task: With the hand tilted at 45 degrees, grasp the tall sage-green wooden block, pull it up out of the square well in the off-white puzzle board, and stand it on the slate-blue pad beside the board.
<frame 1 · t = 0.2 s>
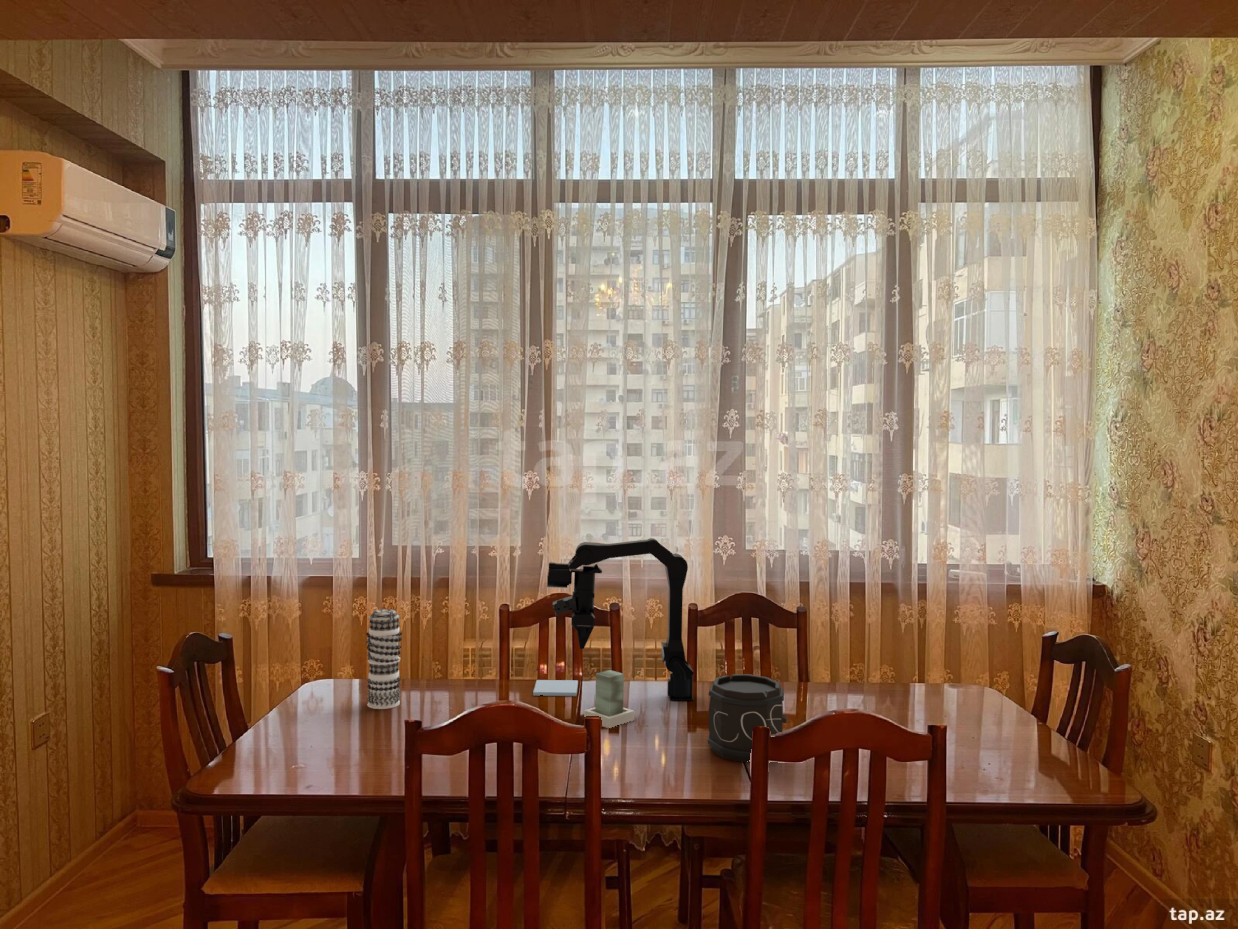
hand: (581, 644, 239), 15 cm above the table, tool pointing down, fingers open, 9 cm apart
dark grey coffee canister: (747, 751, 202), on the table
decorative candle: (383, 704, 231), on the table
green block: (609, 697, 221), in the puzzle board
slate pad: (556, 689, 247), on the table
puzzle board: (609, 720, 221), on the table
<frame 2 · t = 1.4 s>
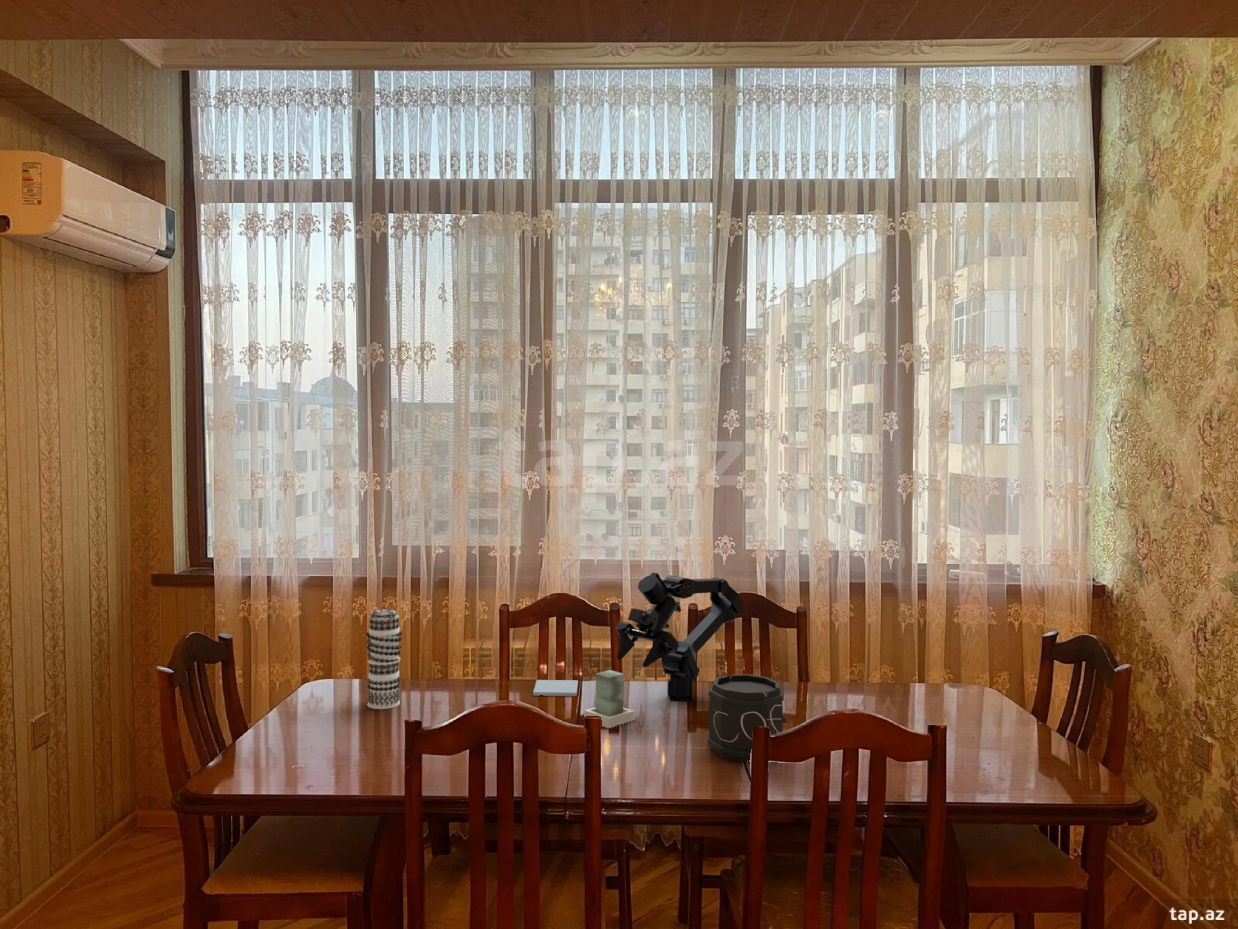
hand: (630, 663, 226), 13 cm above the table, tool tilted 45°, fingers open, 9 cm apart
nothing on the table moved.
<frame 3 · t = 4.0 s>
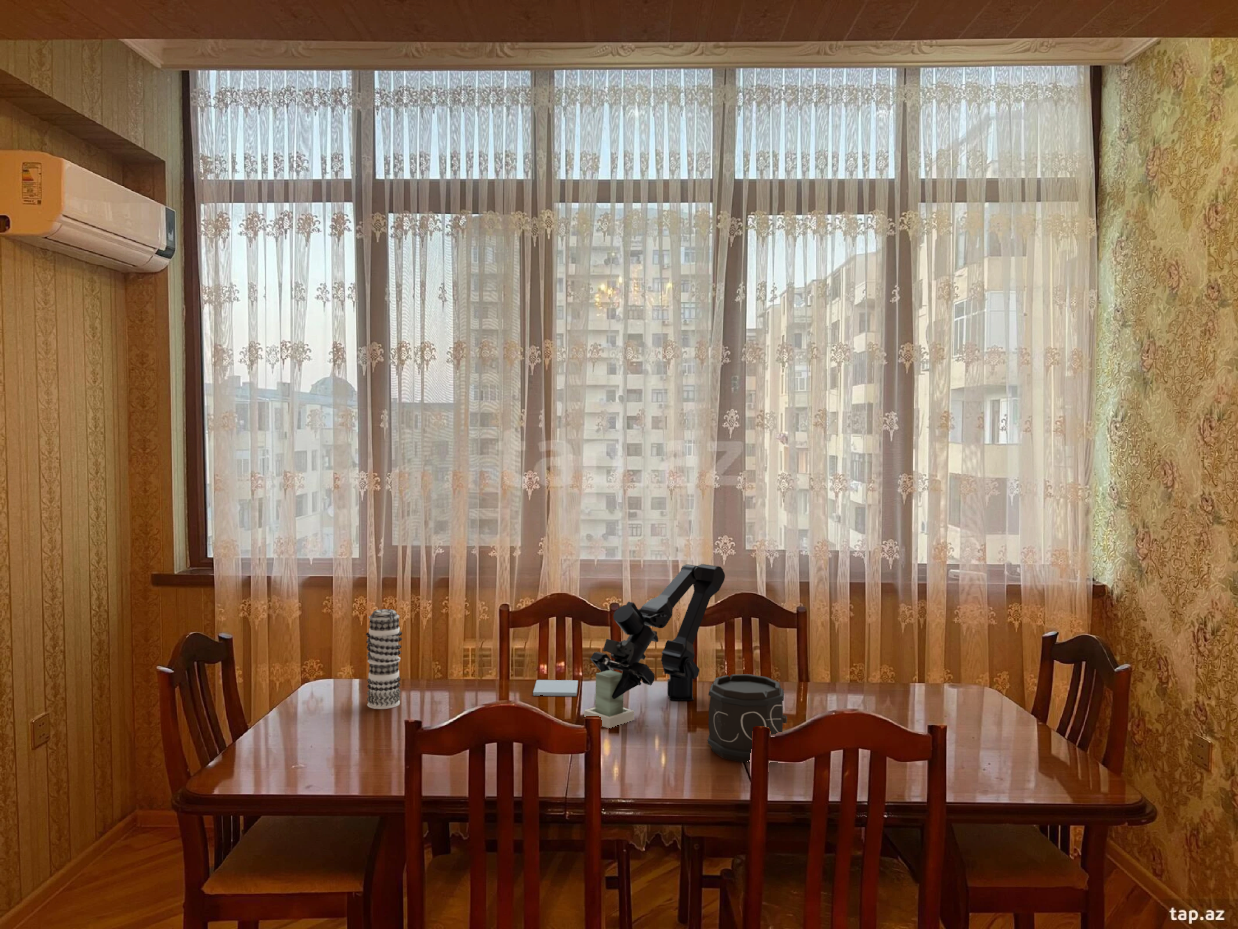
hand: (605, 695, 220), 7 cm above the table, tool tilted 45°, fingers closed on green block, 5 cm apart
green block: (609, 697, 221), in the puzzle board, touching gripper
everything else where it was.
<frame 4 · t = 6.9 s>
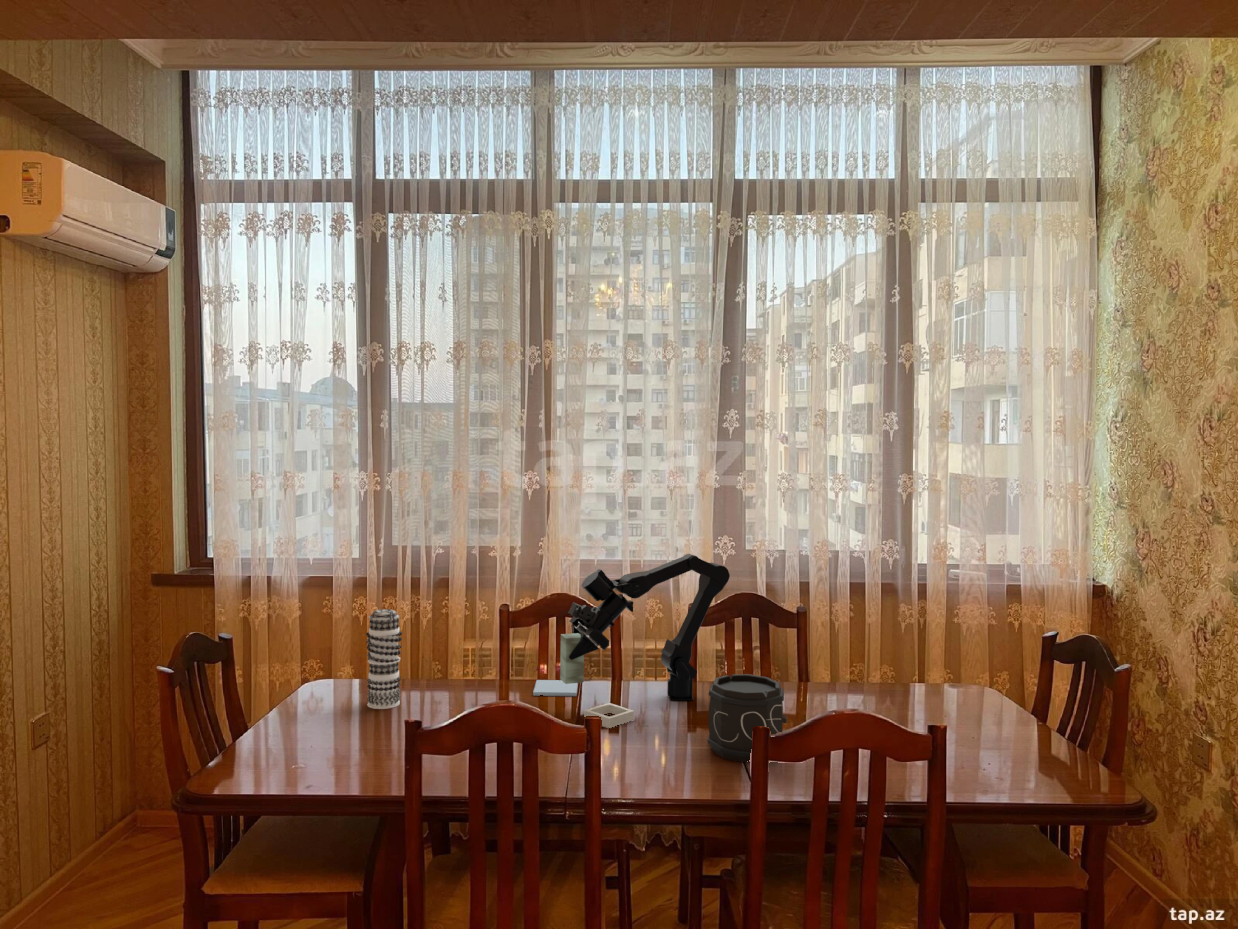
hand: (567, 656, 230), 14 cm above the table, tool tilted 45°, fingers closed on green block, 5 cm apart
green block: (572, 658, 230), point 13 cm above the table, touching gripper
everything else where it was.
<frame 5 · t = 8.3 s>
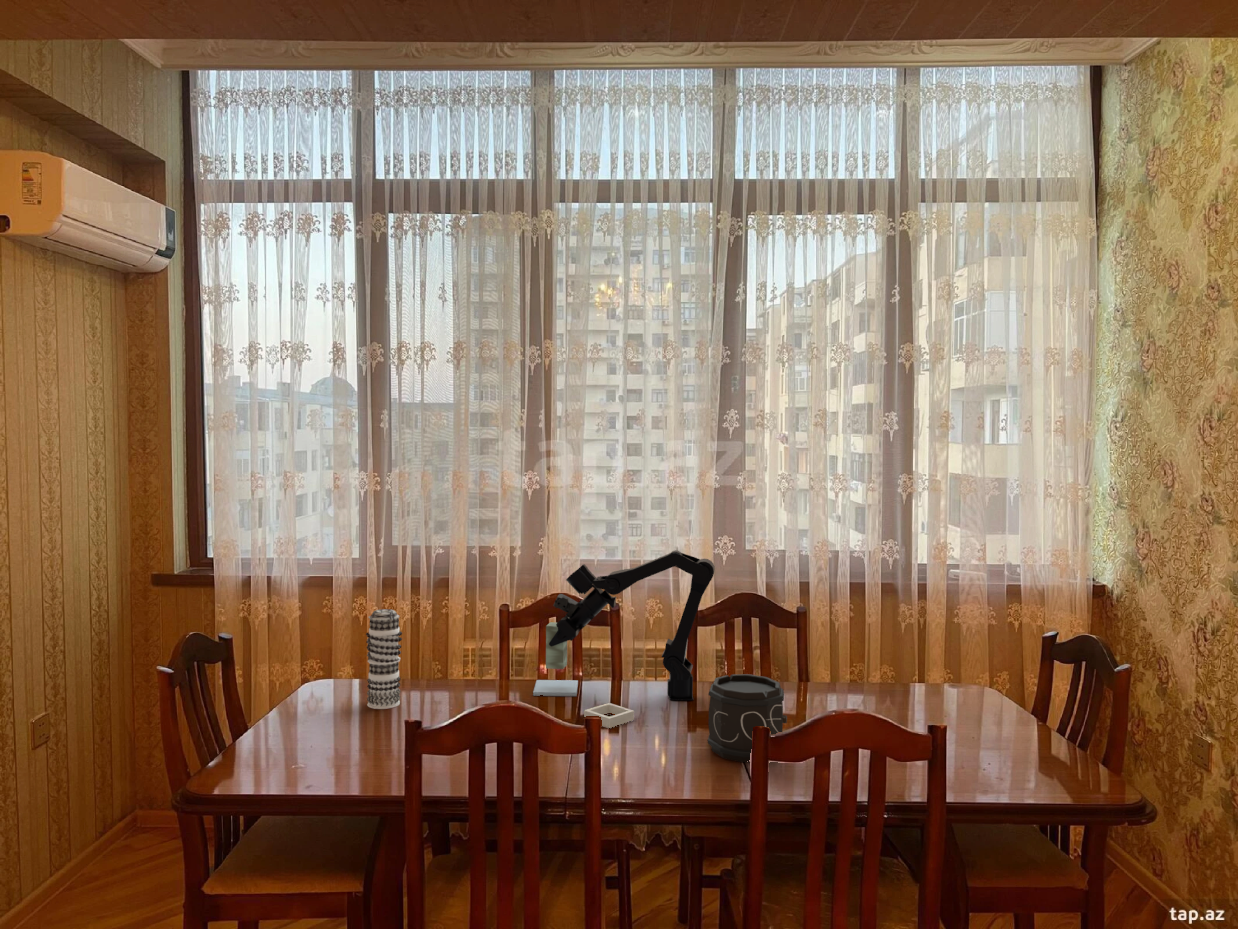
hand: (552, 643, 247), 13 cm above the table, tool tilted 45°, fingers closed on green block, 5 cm apart
green block: (556, 645, 246), point 13 cm above the table, touching gripper
everything else where it was.
when the fingers open (9 cm above the table, at t = 9.6 s): green block drops 1 cm, resting on slate pad.
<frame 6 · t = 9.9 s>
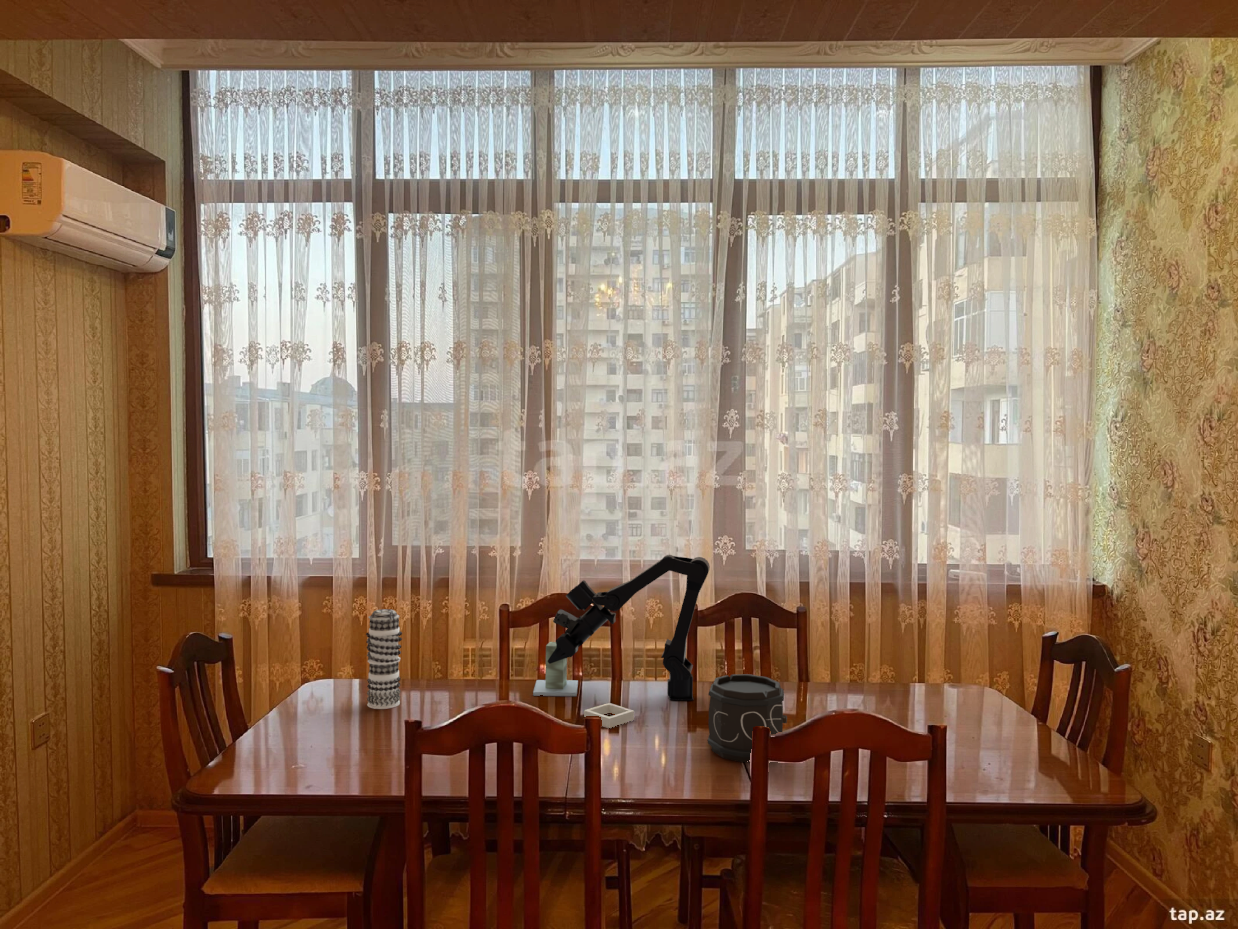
hand: (551, 658, 247), 9 cm above the table, tool tilted 45°, fingers open, 8 cm apart
green block: (556, 665, 247), on the slate pad, point 7 cm above the table
everything else where it was.
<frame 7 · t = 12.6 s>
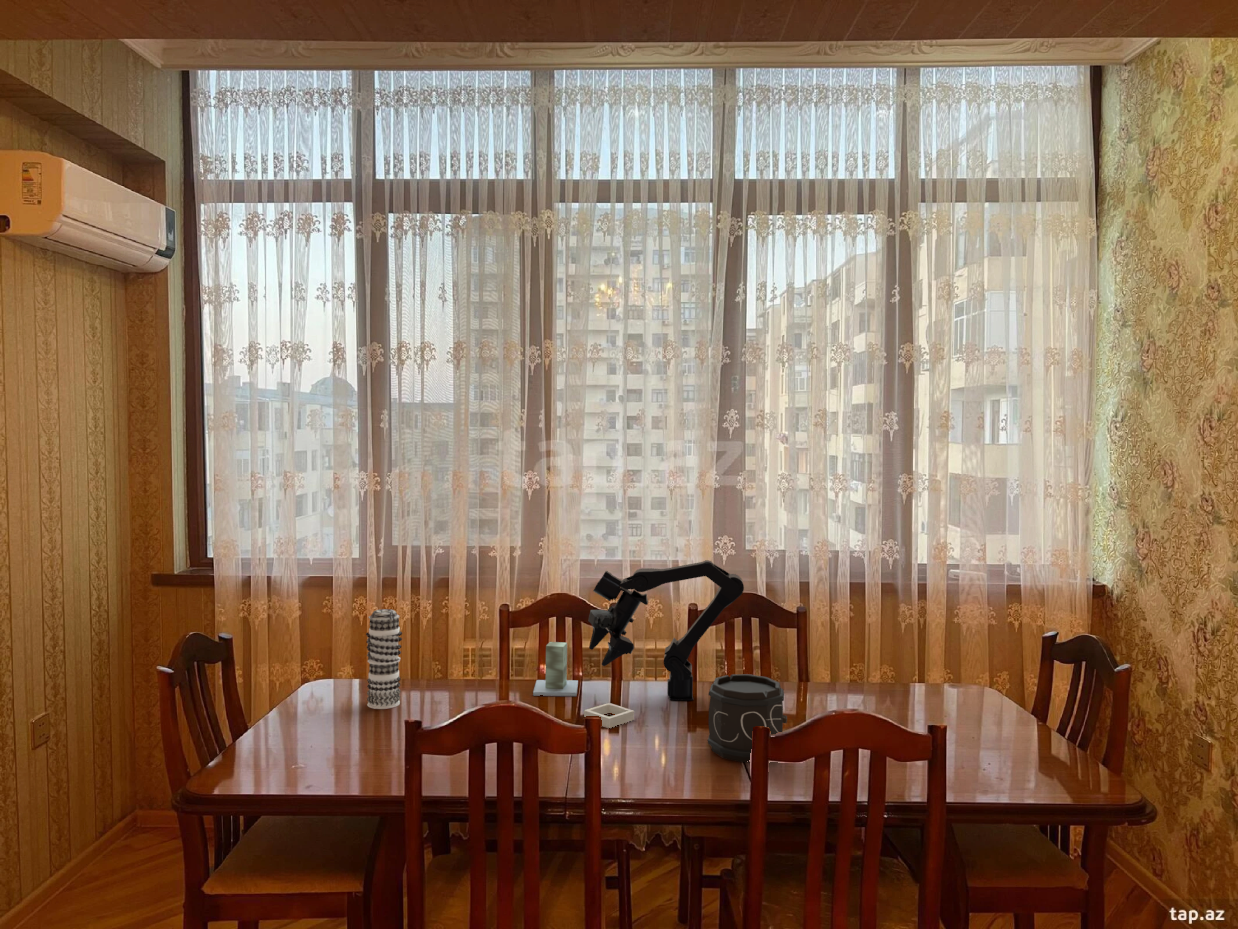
hand: (596, 657, 243), 10 cm above the table, tool tilted 30°, fingers open, 9 cm apart
nothing on the table moved.
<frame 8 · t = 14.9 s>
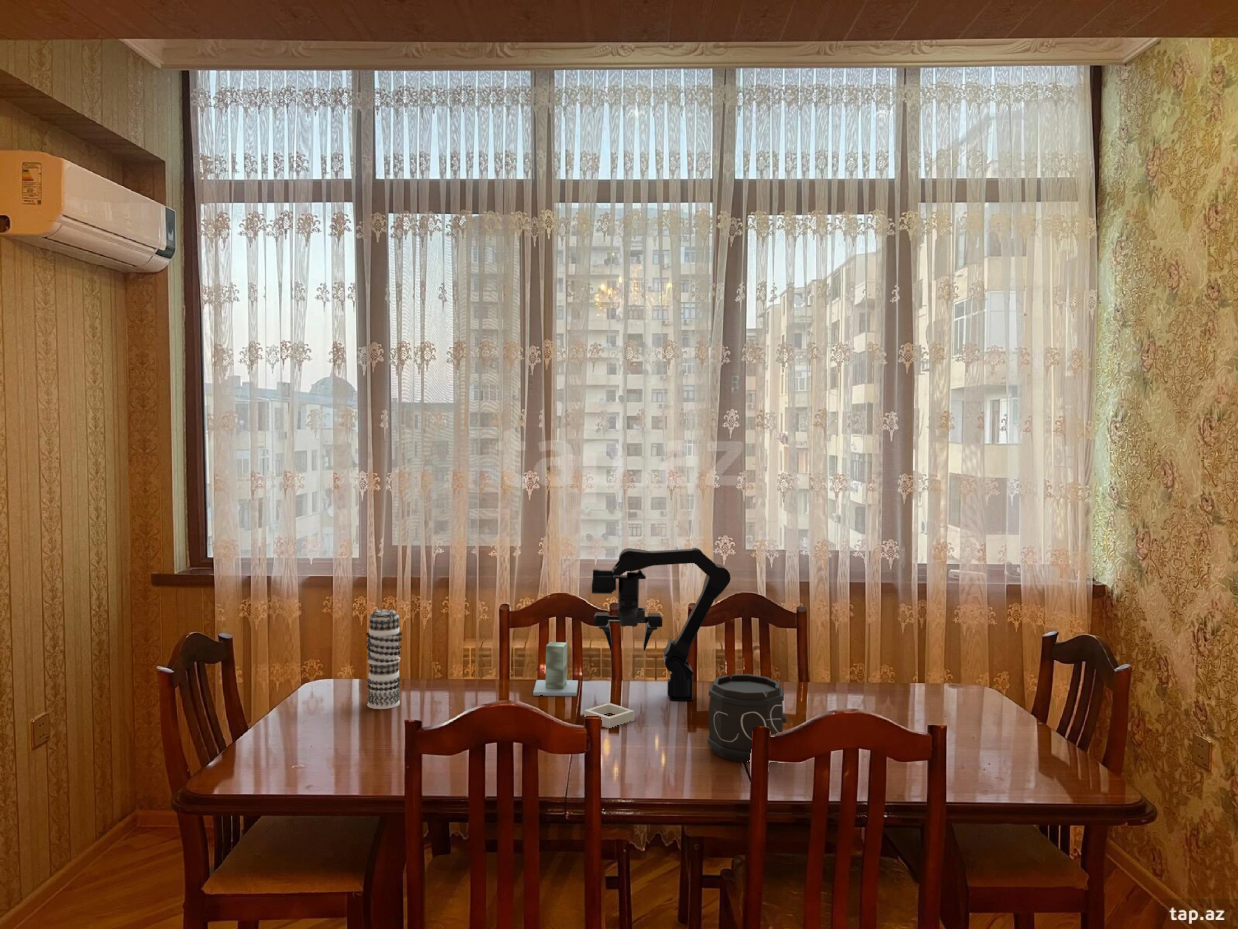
hand: (627, 650, 241), 13 cm above the table, tool pointing down, fingers open, 9 cm apart
nothing on the table moved.
at the end: green block inside the target area on the slate pad (0.0 cm from its centre), point 7.0 cm above the slate pad's base; green block tilted 0°; the gripper is holding nothing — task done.
